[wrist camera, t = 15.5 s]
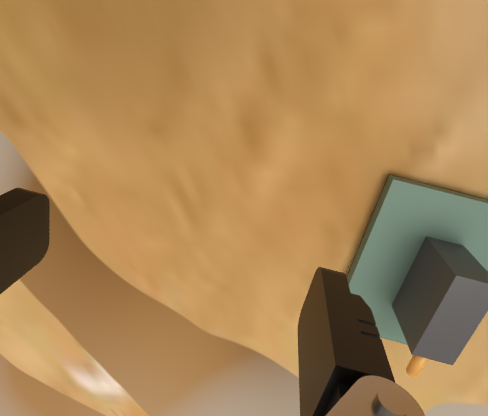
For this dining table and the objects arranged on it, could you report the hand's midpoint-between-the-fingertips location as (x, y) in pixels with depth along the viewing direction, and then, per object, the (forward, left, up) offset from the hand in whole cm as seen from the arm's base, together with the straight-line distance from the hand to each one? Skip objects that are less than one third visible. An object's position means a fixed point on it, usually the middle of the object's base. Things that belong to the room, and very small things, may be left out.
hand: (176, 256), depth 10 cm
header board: (+11, +21, -26) cm, 35 cm away
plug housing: (+13, +21, -25) cm, 35 cm away
